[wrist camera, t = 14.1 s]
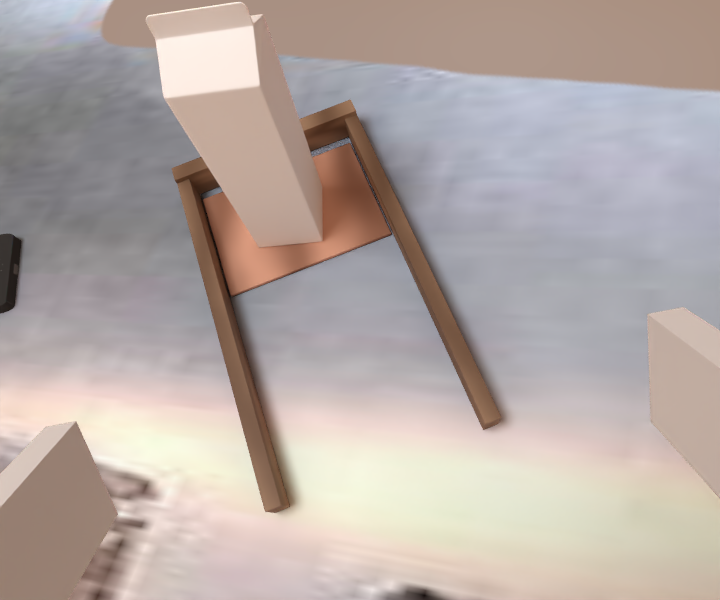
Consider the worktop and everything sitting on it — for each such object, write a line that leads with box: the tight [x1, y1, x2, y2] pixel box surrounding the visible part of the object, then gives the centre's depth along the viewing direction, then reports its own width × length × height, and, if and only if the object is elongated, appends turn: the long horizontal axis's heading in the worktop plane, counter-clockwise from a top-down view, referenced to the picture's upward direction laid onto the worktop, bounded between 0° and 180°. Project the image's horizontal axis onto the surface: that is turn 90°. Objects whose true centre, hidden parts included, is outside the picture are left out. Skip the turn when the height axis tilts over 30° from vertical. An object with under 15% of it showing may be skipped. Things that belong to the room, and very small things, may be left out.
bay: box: [172, 100, 501, 513], centre depth 46 cm, size 18×32×3 cm, turn 20°
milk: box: [146, 2, 323, 248], centre depth 40 cm, size 6×6×22 cm
